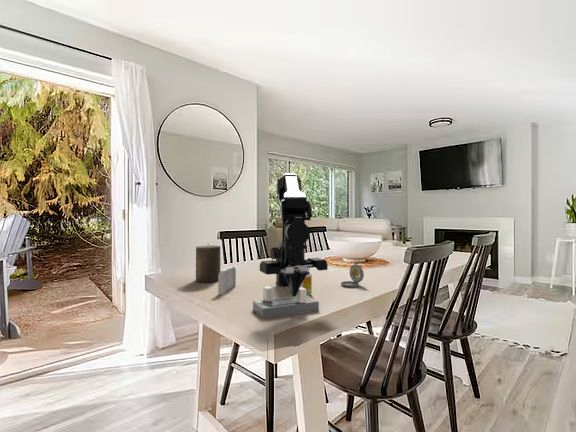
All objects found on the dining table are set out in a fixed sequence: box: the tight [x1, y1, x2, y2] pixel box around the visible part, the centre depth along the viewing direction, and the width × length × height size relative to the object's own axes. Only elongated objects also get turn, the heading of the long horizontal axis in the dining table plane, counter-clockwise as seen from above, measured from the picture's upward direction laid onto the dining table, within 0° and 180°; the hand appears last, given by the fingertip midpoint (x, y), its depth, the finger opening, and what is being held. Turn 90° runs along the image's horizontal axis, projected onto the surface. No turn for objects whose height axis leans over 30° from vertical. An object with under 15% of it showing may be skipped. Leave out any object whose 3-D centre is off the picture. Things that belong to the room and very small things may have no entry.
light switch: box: [217, 265, 237, 296], centre depth 115 cm, size 2×12×8 cm, turn 168°
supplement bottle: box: [300, 268, 313, 297], centre depth 110 cm, size 5×5×10 cm
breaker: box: [262, 285, 274, 302], centre depth 93 cm, size 2×3×4 cm
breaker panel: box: [252, 295, 320, 319], centre depth 93 cm, size 17×8×3 cm, turn 115°
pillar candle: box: [195, 243, 221, 284], centre depth 131 cm, size 10×10×15 cm
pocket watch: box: [340, 258, 365, 288], centre depth 123 cm, size 8×8×10 cm
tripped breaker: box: [296, 287, 307, 303], centre depth 92 cm, size 2×3×4 cm
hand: (293, 296), depth 91 cm, fingers closed
